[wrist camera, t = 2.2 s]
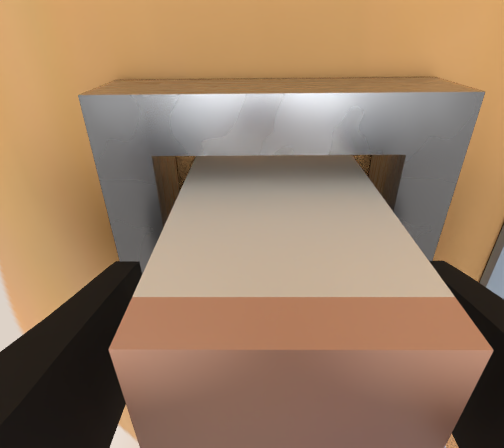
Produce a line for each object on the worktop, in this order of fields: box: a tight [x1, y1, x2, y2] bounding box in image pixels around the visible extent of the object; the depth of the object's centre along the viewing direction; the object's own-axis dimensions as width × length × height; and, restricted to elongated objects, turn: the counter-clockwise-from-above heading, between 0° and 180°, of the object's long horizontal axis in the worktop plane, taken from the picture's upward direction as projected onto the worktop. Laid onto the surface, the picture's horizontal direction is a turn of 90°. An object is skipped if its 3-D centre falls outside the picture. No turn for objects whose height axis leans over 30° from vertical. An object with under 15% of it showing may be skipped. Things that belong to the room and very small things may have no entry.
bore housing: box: [78, 77, 485, 274], centre depth 12 cm, size 10×10×2 cm
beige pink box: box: [108, 155, 494, 448], centre depth 9 cm, size 5×5×8 cm
